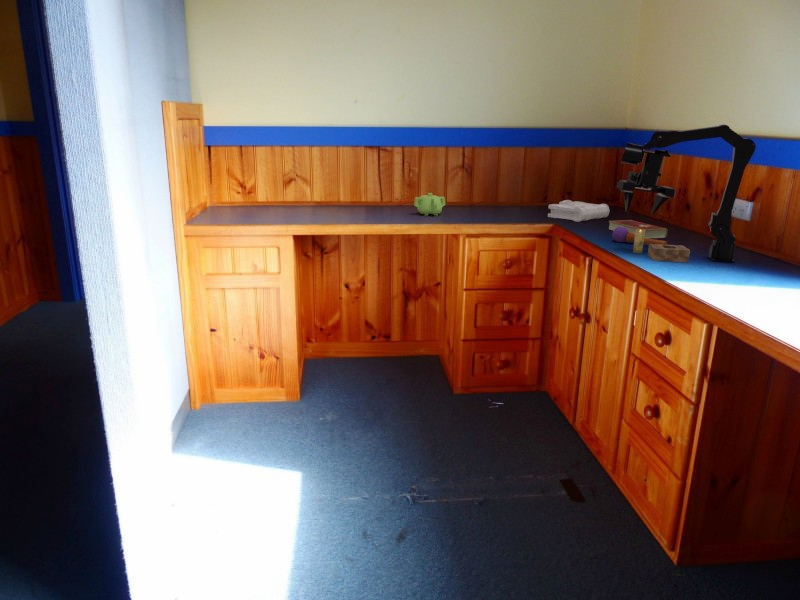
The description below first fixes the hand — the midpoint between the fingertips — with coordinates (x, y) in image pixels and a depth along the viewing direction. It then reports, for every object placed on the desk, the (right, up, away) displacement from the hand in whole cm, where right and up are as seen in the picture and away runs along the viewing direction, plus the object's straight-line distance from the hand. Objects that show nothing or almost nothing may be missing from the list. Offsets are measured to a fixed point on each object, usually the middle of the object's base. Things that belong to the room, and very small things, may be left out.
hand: (639, 213), depth 214 cm
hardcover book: (+13, -3, +38) cm, 40 cm away
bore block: (+7, -16, -7) cm, 19 cm away
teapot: (-70, +9, +70) cm, 99 cm away
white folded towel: (+1, +8, +75) cm, 76 cm away
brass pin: (0, -13, +2) cm, 14 cm away
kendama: (+5, -10, +15) cm, 19 cm away
